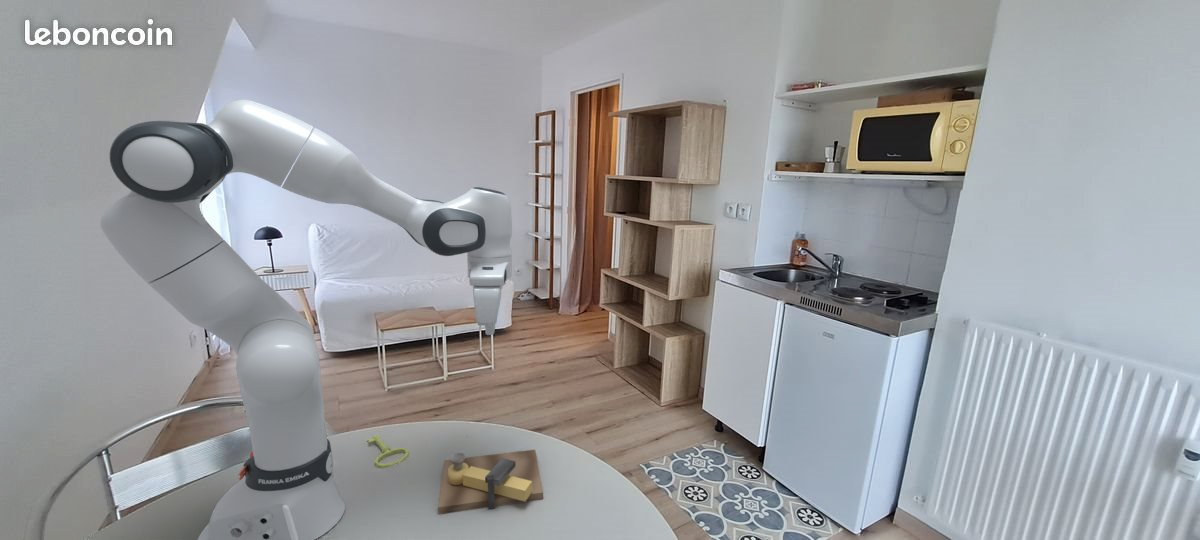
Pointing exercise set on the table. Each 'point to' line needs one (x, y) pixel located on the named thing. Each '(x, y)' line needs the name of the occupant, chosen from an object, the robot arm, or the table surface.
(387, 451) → the key
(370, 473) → the table surface
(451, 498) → the board
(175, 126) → the robot arm
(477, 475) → the link
